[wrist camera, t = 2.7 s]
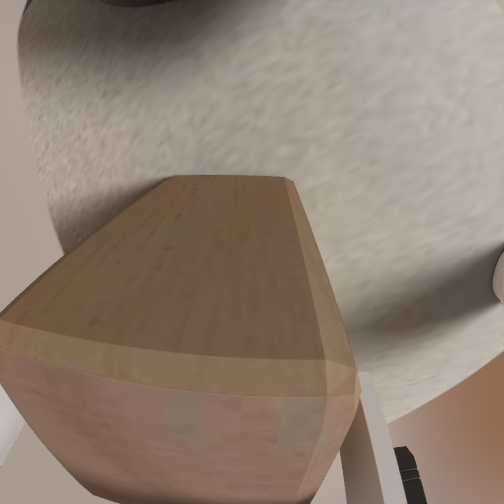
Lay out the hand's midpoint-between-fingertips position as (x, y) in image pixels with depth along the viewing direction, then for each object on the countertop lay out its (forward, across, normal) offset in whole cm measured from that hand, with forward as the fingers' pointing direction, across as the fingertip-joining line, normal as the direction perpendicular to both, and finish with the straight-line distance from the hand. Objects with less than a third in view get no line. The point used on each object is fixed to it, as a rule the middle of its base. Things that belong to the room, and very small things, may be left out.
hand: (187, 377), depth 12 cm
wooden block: (+15, 0, 0) cm, 15 cm away
